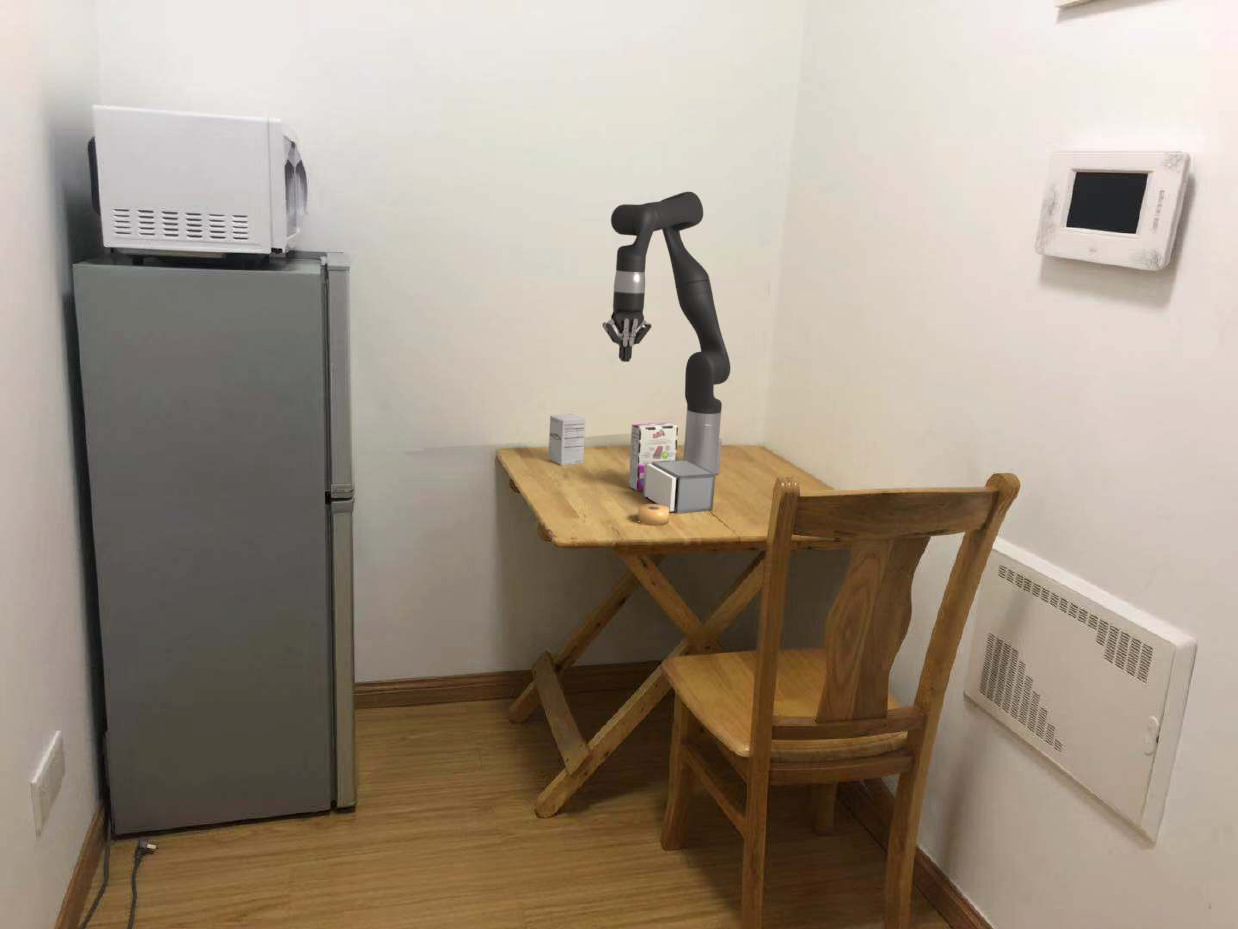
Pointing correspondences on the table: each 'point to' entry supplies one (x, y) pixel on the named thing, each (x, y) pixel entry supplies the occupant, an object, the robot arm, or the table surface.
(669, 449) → the candy bar box
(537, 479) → the table surface
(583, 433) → the supplement box
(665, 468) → the box
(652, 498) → the cover
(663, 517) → the tan donut
